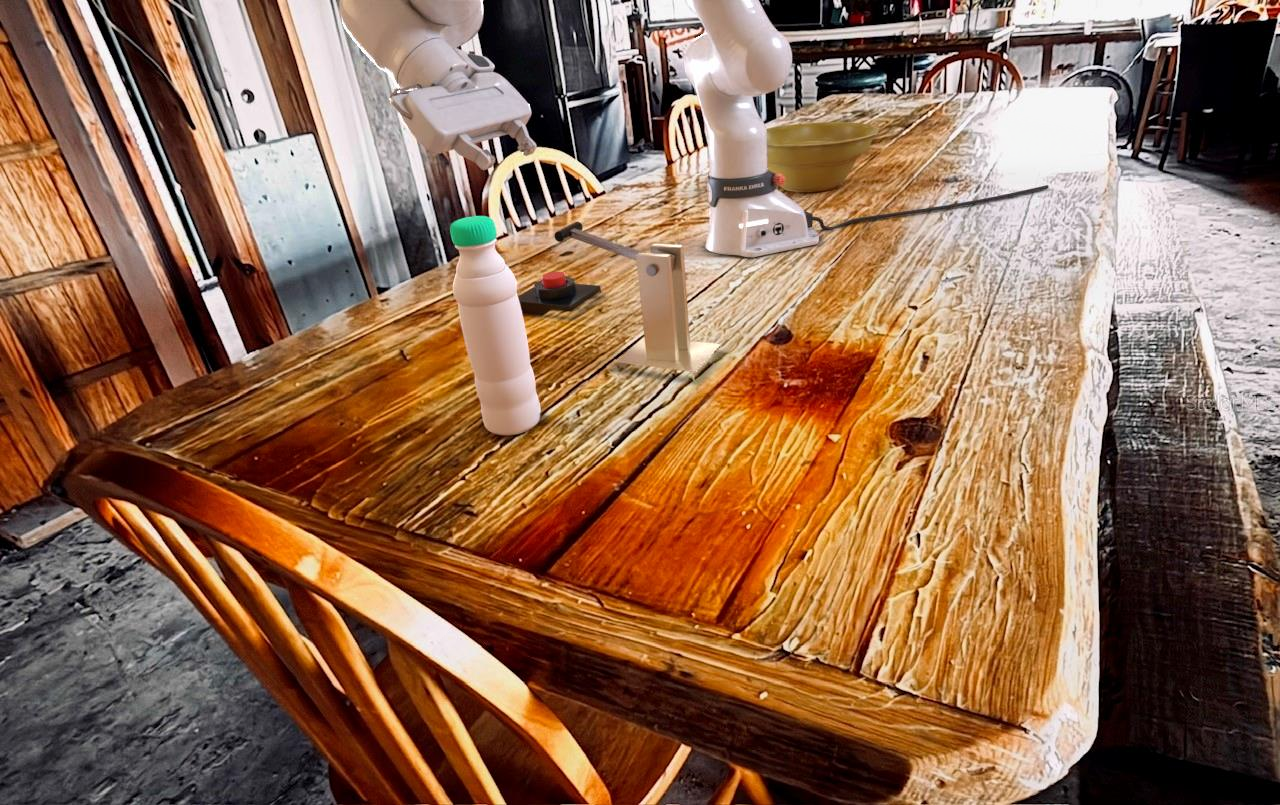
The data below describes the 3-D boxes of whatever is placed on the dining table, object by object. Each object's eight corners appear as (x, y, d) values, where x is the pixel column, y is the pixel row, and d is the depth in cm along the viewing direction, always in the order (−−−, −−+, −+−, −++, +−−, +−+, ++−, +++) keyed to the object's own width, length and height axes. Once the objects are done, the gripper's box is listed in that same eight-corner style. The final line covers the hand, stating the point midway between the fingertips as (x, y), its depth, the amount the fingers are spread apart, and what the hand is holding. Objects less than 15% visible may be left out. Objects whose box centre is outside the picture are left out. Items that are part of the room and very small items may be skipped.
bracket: (616, 370, 97) (602, 258, 89) (645, 344, 104) (634, 238, 96) (696, 381, 91) (688, 263, 84) (721, 352, 98) (716, 241, 91)
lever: (553, 243, 94) (554, 226, 93) (573, 233, 98) (574, 216, 96) (660, 281, 89) (664, 264, 88) (677, 269, 93) (680, 252, 92)
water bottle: (488, 412, 89) (442, 215, 77) (543, 405, 90) (506, 208, 78) (482, 441, 83) (431, 232, 71) (541, 433, 83) (501, 223, 72)
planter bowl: (892, 194, 167) (897, 134, 160) (756, 207, 168) (755, 148, 162) (856, 169, 195) (859, 117, 189) (740, 180, 197) (739, 129, 190)
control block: (513, 312, 121) (508, 290, 119) (545, 292, 128) (541, 271, 127) (572, 318, 116) (568, 295, 114) (602, 297, 123) (599, 275, 121)
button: (538, 288, 120) (536, 278, 119) (551, 280, 123) (549, 270, 122) (558, 289, 118) (556, 279, 117) (570, 282, 121) (569, 272, 120)
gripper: (390, 70, 83) (472, 155, 84) (495, 56, 99) (563, 127, 99) (373, 112, 87) (451, 193, 88) (476, 92, 103) (542, 160, 103)
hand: (511, 158), depth 94 cm, fingers open, 8 cm apart
